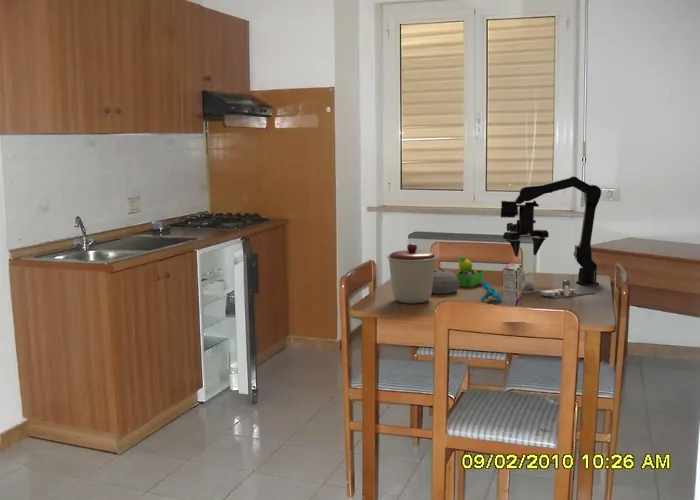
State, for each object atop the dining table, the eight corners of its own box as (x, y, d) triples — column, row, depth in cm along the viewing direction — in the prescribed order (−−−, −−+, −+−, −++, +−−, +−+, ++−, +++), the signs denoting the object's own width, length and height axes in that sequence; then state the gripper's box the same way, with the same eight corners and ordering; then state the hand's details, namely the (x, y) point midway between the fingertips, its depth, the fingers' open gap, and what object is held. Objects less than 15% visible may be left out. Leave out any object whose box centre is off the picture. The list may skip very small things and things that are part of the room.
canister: (397, 307, 254) (397, 248, 251) (380, 297, 271) (380, 241, 268) (445, 304, 259) (445, 245, 256) (425, 294, 276) (425, 239, 273)
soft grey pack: (413, 286, 293) (427, 296, 273) (413, 266, 291) (427, 274, 272) (449, 284, 295) (465, 294, 276) (449, 264, 294) (465, 272, 274)
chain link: (520, 286, 287) (520, 271, 286) (536, 290, 278) (536, 274, 277) (512, 286, 285) (512, 271, 284) (527, 291, 277) (528, 275, 276)
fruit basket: (472, 287, 288) (472, 259, 286) (452, 285, 293) (452, 257, 291) (485, 283, 297) (485, 255, 295) (465, 281, 302) (466, 254, 300)
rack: (567, 290, 275) (567, 279, 275) (577, 293, 271) (577, 281, 270) (539, 294, 270) (540, 282, 269) (549, 296, 265) (549, 284, 265)
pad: (523, 285, 290) (523, 284, 290) (545, 291, 278) (545, 290, 278) (503, 288, 286) (503, 286, 286) (524, 294, 274) (524, 292, 274)
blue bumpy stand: (499, 300, 255) (480, 279, 258) (487, 311, 257) (468, 290, 260) (506, 298, 265) (488, 278, 268) (494, 309, 267) (476, 289, 270)
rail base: (578, 289, 281) (578, 279, 280) (595, 293, 273) (596, 283, 272) (538, 294, 273) (539, 283, 272) (555, 298, 265) (555, 287, 264)
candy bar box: (507, 310, 247) (507, 263, 244) (522, 311, 245) (523, 263, 243) (501, 318, 236) (502, 268, 234) (516, 319, 235) (517, 269, 232)
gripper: (532, 214, 304) (531, 251, 306) (495, 217, 296) (494, 255, 299) (549, 217, 294) (548, 255, 296) (512, 219, 286) (511, 258, 289)
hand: (525, 255), depth 295 cm, fingers open, 9 cm apart
